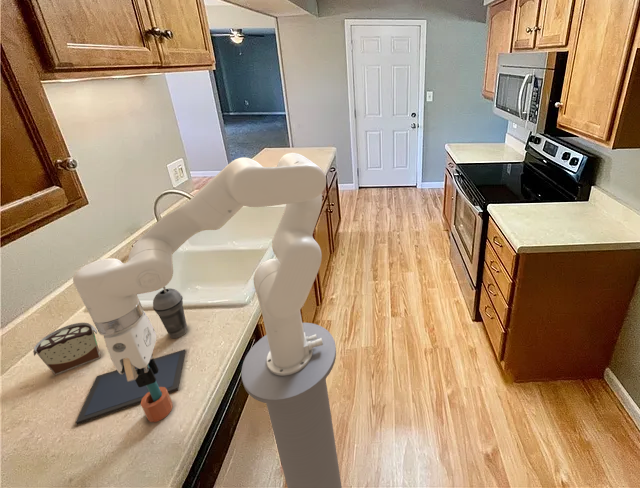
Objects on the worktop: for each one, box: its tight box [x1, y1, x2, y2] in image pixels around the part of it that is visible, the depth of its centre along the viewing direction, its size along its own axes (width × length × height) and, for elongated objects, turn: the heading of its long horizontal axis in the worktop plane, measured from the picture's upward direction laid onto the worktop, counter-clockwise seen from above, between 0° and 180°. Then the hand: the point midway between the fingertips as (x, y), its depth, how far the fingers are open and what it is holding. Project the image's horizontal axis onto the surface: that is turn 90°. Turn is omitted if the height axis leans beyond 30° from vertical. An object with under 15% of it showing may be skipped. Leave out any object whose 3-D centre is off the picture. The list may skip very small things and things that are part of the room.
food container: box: [32, 322, 101, 376], centre depth 90 cm, size 12×6×10 cm, turn 125°
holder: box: [140, 387, 174, 423], centre depth 77 cm, size 5×5×5 cm
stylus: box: [146, 365, 162, 402], centre depth 74 cm, size 2×2×13 cm
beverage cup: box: [152, 286, 188, 339], centre depth 97 cm, size 7×7×20 cm
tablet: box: [75, 349, 187, 425], centre depth 84 cm, size 20×13×1 cm, turn 114°
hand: (149, 378), depth 74 cm, fingers closed on stylus, 1 cm apart
